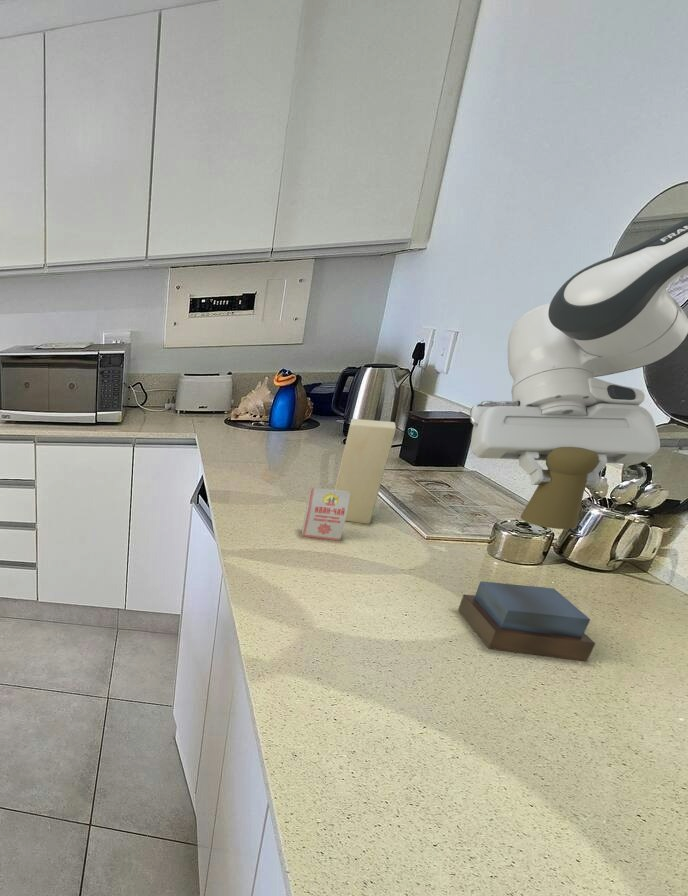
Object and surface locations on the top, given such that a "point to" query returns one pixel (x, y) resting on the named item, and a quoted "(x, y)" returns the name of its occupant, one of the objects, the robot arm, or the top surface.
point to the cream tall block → (364, 466)
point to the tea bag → (325, 514)
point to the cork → (561, 488)
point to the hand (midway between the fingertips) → (565, 484)
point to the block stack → (527, 620)
